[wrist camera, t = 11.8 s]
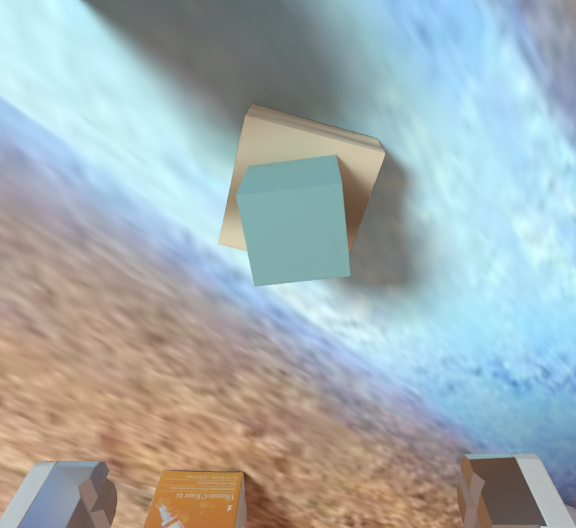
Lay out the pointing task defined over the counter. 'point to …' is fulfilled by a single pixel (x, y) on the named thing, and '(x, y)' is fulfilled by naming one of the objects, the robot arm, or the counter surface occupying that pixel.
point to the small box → (198, 500)
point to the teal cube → (294, 221)
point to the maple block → (300, 145)
